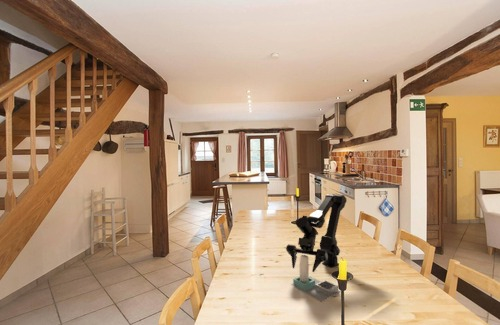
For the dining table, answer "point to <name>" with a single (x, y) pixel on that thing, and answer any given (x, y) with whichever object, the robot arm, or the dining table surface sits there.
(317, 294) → the console board
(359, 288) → the dining table surface
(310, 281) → the teal socket
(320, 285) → the grey socket
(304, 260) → the plug
